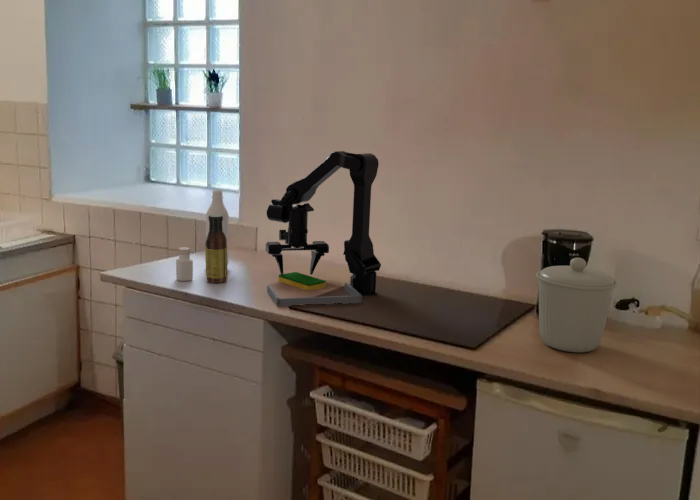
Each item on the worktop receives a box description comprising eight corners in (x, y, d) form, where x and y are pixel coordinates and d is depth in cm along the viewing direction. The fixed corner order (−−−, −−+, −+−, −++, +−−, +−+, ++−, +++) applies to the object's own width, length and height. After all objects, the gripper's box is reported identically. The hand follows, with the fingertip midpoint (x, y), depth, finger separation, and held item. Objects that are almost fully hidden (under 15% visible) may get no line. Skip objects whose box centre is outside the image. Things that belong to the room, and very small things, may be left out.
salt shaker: (193, 280, 212) (193, 249, 210) (180, 282, 210) (180, 250, 208) (188, 277, 215) (188, 246, 213) (175, 279, 213) (175, 247, 211)
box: (346, 289, 210) (347, 282, 210) (362, 303, 196) (362, 296, 196) (267, 291, 203) (267, 285, 203) (277, 306, 189) (277, 299, 189)
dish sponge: (308, 292, 207) (308, 284, 206) (277, 282, 216) (277, 274, 216) (326, 288, 212) (326, 280, 211) (295, 279, 221) (295, 271, 221)
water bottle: (209, 265, 232) (210, 188, 227) (231, 267, 231) (232, 189, 226) (202, 270, 225) (202, 191, 220) (224, 272, 224) (225, 192, 219)
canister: (563, 362, 157) (574, 268, 152) (514, 337, 173) (522, 251, 169) (627, 354, 164) (638, 264, 160) (573, 330, 180) (582, 248, 176)
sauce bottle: (217, 277, 217) (217, 212, 213) (231, 281, 213) (232, 215, 209) (200, 281, 211) (200, 214, 207) (215, 285, 208) (216, 217, 204)
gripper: (321, 220, 228) (319, 268, 231) (262, 220, 222) (261, 269, 225) (330, 226, 217) (328, 276, 220) (269, 226, 212) (268, 278, 215)
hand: (296, 274), depth 220 cm, fingers open, 9 cm apart
